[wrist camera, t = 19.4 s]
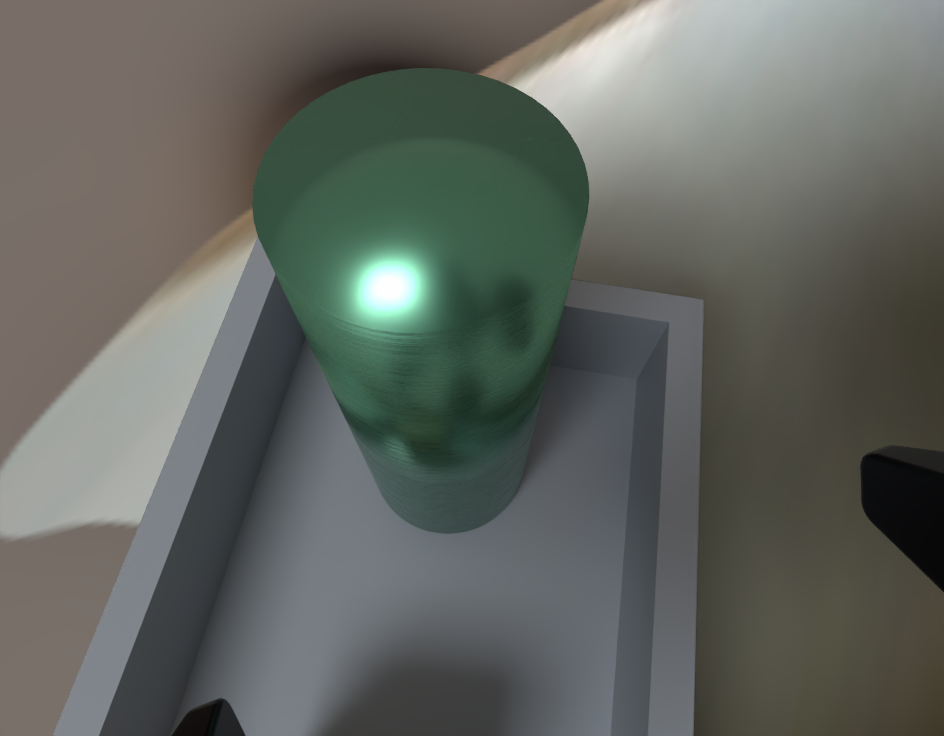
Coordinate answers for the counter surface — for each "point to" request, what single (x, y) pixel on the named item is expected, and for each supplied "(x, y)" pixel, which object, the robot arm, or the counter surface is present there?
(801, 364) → the counter surface
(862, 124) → the counter surface
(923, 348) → the counter surface
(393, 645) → the grey tote
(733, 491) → the counter surface
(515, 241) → the green tall cylinder
